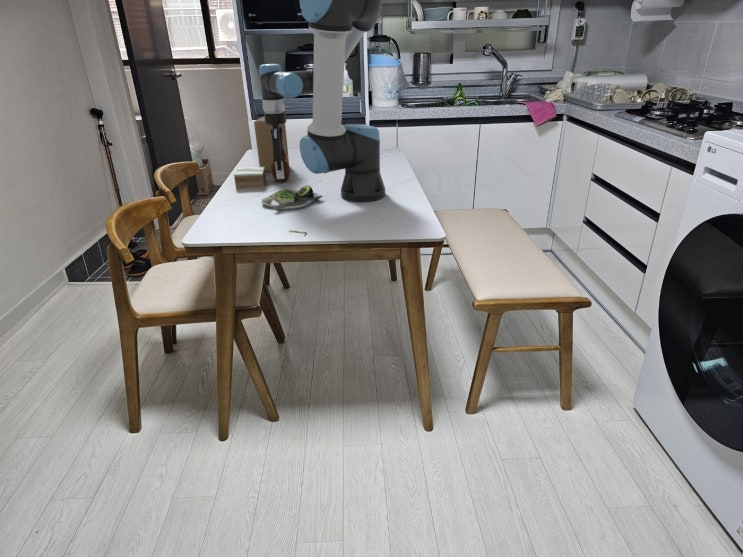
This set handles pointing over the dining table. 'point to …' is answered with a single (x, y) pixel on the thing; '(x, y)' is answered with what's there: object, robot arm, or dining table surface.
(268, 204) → the salad plate
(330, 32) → the robot arm
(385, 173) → the dining table surface
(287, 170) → the wooden figurine
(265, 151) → the block
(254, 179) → the plinth
